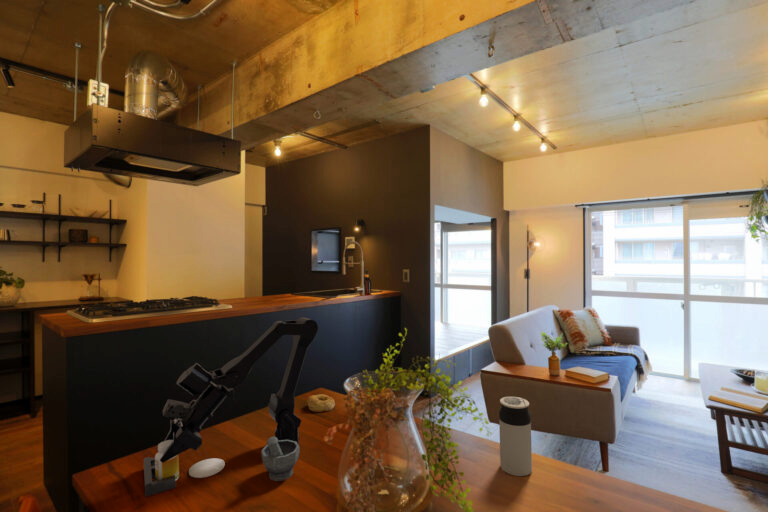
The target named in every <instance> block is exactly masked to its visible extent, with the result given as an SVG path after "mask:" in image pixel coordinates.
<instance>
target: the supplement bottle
mask: <svg viewBox="0 0 768 512" xmlns="http://www.w3.org/2000/svg"><path fill="white" fill-rule="evenodd" d="M172 441H173V440H166V441H161V442H160V443H159V442H158V445H157V451H158V452H156V454H155V456H154V457H155V478H154V481H156V480H160V479H163V478H167V477H170V476H173V475H175V482H176V481H177V480H178V479H179V478H180V464H179V460H180V459H179V455H180V454H178V455H176V456H174V457H173V458H171V459H169V460H167V461H165V462H161V461H160V459H161V457H162V456H163V454H164V453H165V451H166V450H167V448H168V447H169V445H170V444H171V443H172Z"/></svg>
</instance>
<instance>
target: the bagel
mask: <svg viewBox="0 0 768 512" xmlns="http://www.w3.org/2000/svg"><path fill="white" fill-rule="evenodd" d="M335 401H336V400H335V399H334V397H332V396H330V395H329V396H328V395H326V394H323V393H322V394H321V393H319V394H315V395H313V394H312V395H310V396H309V397H308V398H307V401H306V402H307V405H308V409H309V410H310V411H312V412H314V413H320V412H327V411H329V412H330V411H332V410H333V409H334V407H335V406H336V403H335Z"/></svg>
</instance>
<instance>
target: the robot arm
mask: <svg viewBox="0 0 768 512" xmlns="http://www.w3.org/2000/svg"><path fill="white" fill-rule="evenodd" d="M318 332H319V325H318V322H316V321H315V320H314V319H311V318H307V317H299V318H297V319H296V320H295V319H294V320H293V319H292V320H284V321H283V320H276V321H274V322H273V324H272V325H271V326H270V327H269V328H268V329H267V330H266V331H265V332H264V333H263V334H262V335H261V336H259V338H258V339H257V340H256V341H254V342H253V344H251V345H250V346H249V347H248V348H247V349H246V350H245V351H244V352H243V353H242V354H241V355H239V356H236V357H235V358H232V359H231V360H230V361H228V362H227V363H226V364H224V365H223V366H222V367H221V368H218V369H214V370H210V371H207V370H206V369H204V368H203V367H202V366H201V365H200V364H199V363H198V362H195V363H194V364H193V365H192V366H190V367H189V368H187V370H184V371H183V372H182V374H181V375H180V376H179V378H178V379H177V380H176V383H175V384H176V385H178V386H179V387H181V388H182V389H183V390H185V391H186V392H188V393H189V394H191V395H192V396H196V395H198V396H199V397H198V398H197V399H192V400H191V401H190V402H189V403H187V402H184V401H179V400H175V399H169V398H168V399H167V400H166V403H165V405H164V406H163V409H162V411H161V412H162V416H163V417H165V418H171V419H170V422H169V423H170V429H169V431H168V433H167V435H166V437H165V439H164V441H166V440H173V441H172V443H171V444H170V445H169V447H168V448H167V450H166V451H165V453H164V454H163V456H162V457H161V459H160V461H161V462H165V461H167V460H169V459H171V458H173V457H174V456H176V455H178V454H179V455H180V454H182V453H184V452H185V451H188V450H189V449H192V450H194V451H197V450H198V449H200V447H201V446H202V445H203V438H202V436H201V434H200V433H201V431H202V426H203V425H204V424H205V423H206V421H207V420H208V419H209V420H211V419H212V418H213V416H214V415H213V413H214V412H215V411H216V409H218V407H219V406H220V405H221V404H222V403H223V401H224V400H225V399H226V398H228V399H229V400H231V401H234V400H235V397H234V392H235V390H234V388H238V387H240V385H242V384H243V383H244V381H245V380H246V378H247V377H248V375H249V374H250V373H251V371H252V369H253V367H254V365H255V364H256V363H257V362H258V361H259V360H260V359H261V358H262V357H263V356H264V355H265V354H266V353H267V352H268V351H269V350H270V349H271V348H272V347H273V346H274V345H275V344H276V343H277V342H278V341H279V340H280V339H282V337H283V336H292V341H293V342H292V348H291V352H290V355H289V357H288V360H287V361H288V362H287V365H286V367H285V371H284V374H283V377H282V378H283V379H282V380H281V385H280V388H279V390H278V391H277V393H276V394H275V393H271V395H270V400H269V402H268V404H267V407H268V414H269V416H270V417H271V418H272V419H273V420H274V421H275V422H276V428H275V431H274V437H277V439H278V441H279V440H292V441H296V442H297V443H298V445H299V446H300V444H299V443H300V436H299V428H300V427H301V425H302V424H301V422H302V419H301V418H300V417H299V416H297V415H296V414H295V407H296V406H295V405H296V403H295V392H296V389H297V385H298V382H299V379H300V375H301V371H302V368H303V365H304V362H305V357H306V355H307V351H308V349H309V347H310V346H311V344H312V343H313V342H314V340H315V338H316V336H317V334H318Z"/></svg>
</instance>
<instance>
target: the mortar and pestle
mask: <svg viewBox="0 0 768 512" xmlns="http://www.w3.org/2000/svg"><path fill="white" fill-rule="evenodd" d="M300 449H301V448H300V444H299V445H298V443H297V442H296V441H292V440H279V441H278V439H277V437H275V436H271V437H269V438H267V441H266V445H265V446H264V447H263V448H262V450H260V451H261V454H260V455H261V459H262V463H263V467H265V469H266V471H267V472H268V477H269V479H270V480H271V481H275V482H281V481H286V480H287V479H290V478H291V477H292V475H293V473H294V466H295V465H296V464H297V461H298V459H299V457H300Z"/></svg>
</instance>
